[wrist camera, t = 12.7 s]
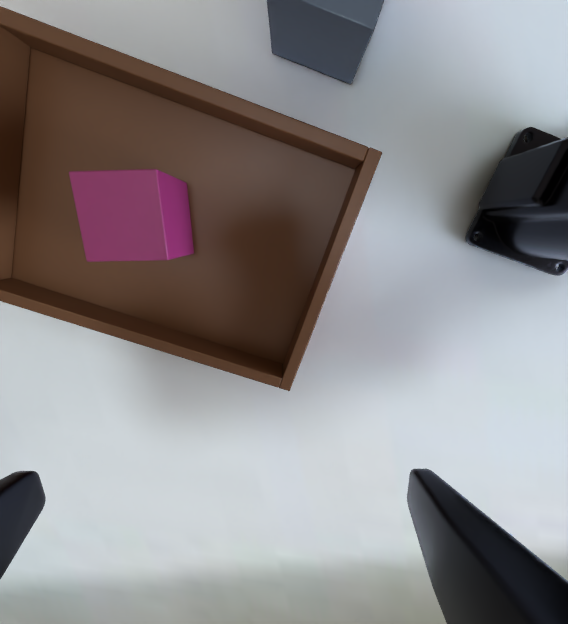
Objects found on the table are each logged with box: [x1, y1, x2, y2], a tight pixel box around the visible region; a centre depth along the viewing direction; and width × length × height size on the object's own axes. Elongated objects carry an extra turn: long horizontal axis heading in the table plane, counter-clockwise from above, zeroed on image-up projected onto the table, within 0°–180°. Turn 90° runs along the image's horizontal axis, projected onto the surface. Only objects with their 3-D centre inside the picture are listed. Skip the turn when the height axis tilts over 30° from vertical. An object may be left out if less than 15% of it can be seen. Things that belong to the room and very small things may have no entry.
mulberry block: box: [69, 169, 194, 262], centre depth 15 cm, size 4×4×4 cm
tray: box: [0, 6, 382, 391], centre depth 17 cm, size 19×14×3 cm
